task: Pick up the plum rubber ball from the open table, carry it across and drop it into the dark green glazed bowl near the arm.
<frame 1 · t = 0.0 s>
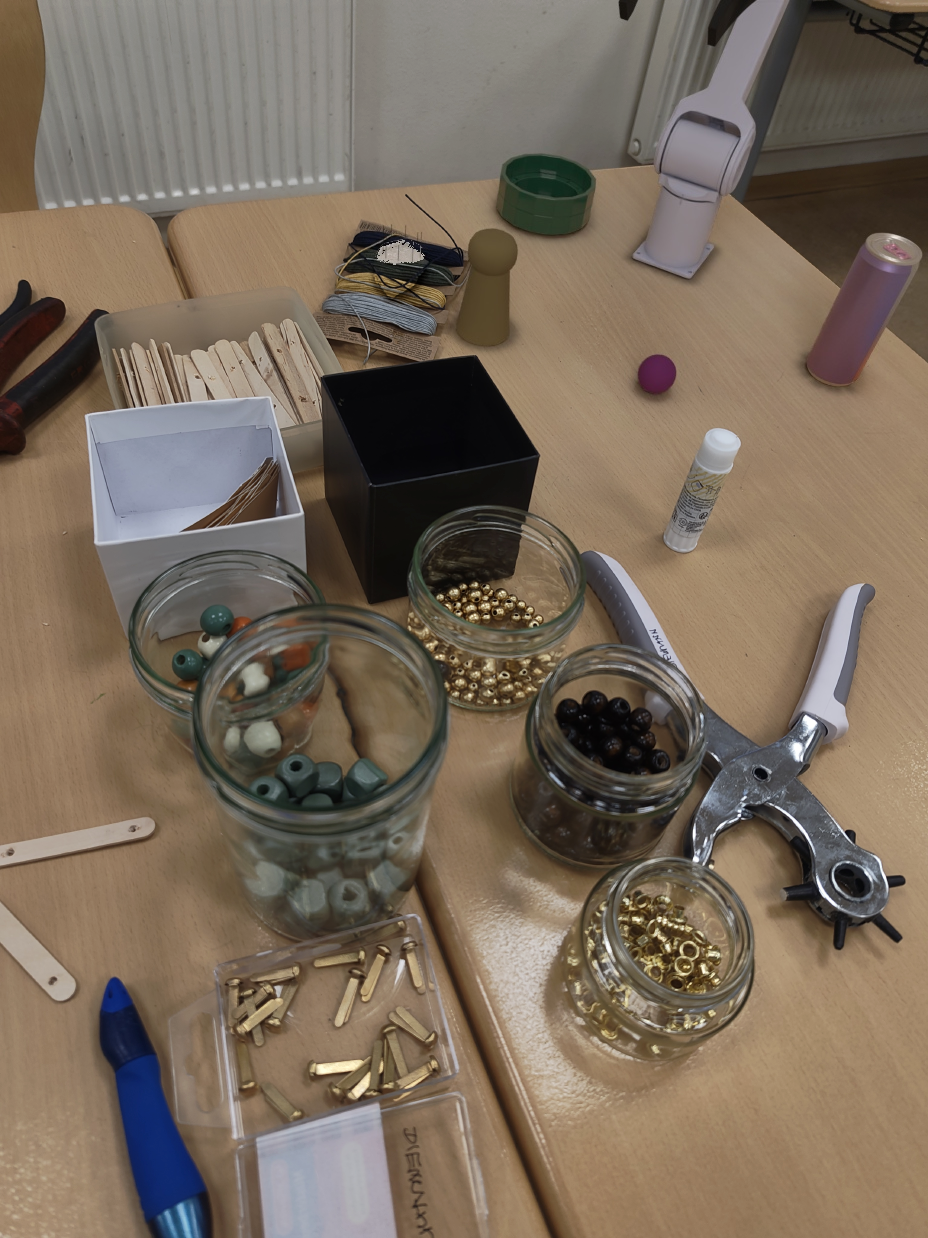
hand: (666, 23, 69), 32 cm above the table, tool tilted 50°, fingers open, 7 cm apart
beverage can: (829, 373, 98), on the table
ball: (651, 389, 93), on the table
olive brown pawn: (482, 331, 97), on the table
pincushion: (399, 276, 102), on the table
bowl: (542, 213, 114), on the table
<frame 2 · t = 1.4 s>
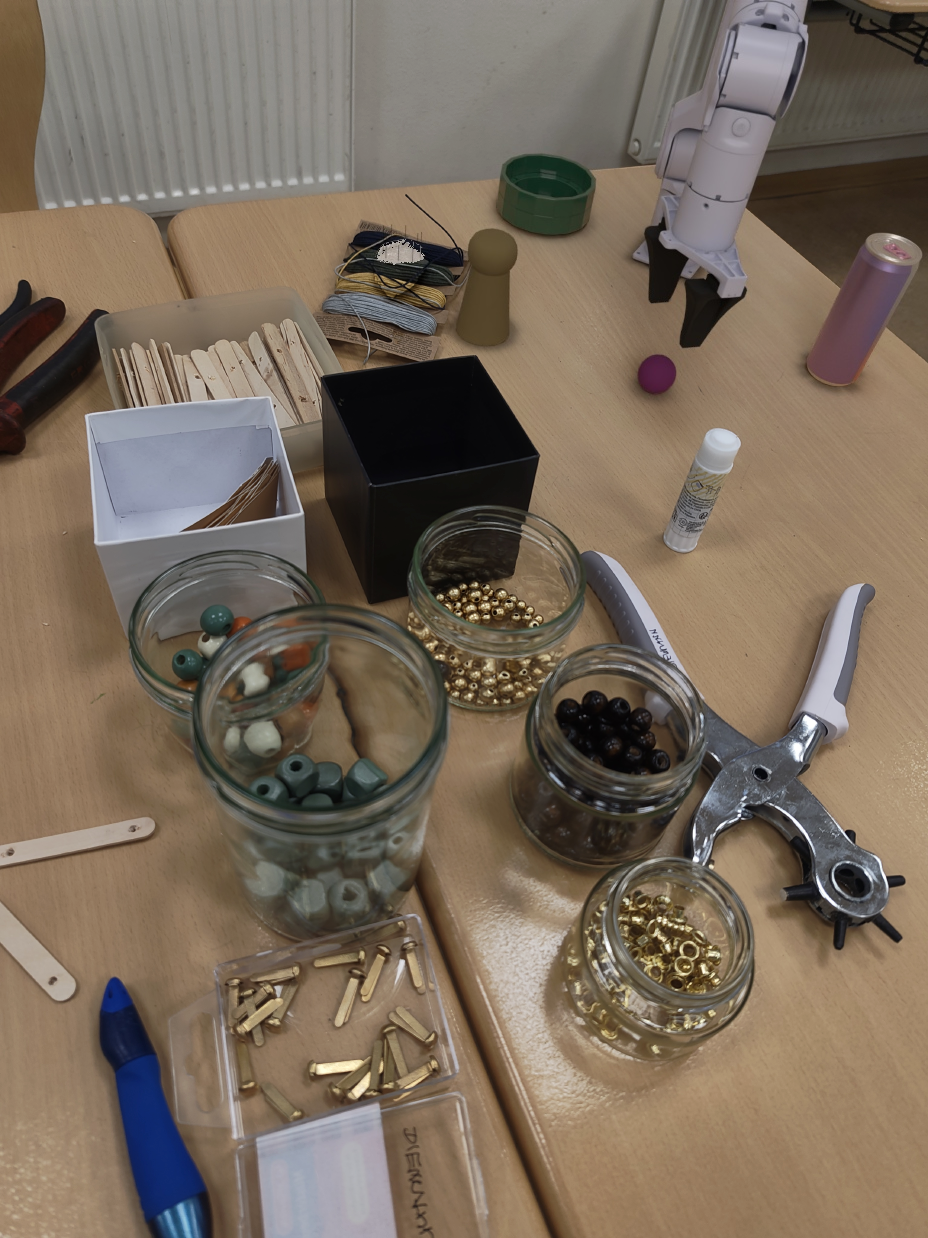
hand: (673, 322, 86), 8 cm above the table, tool pointing down, fingers open, 7 cm apart
nothing on the table moved.
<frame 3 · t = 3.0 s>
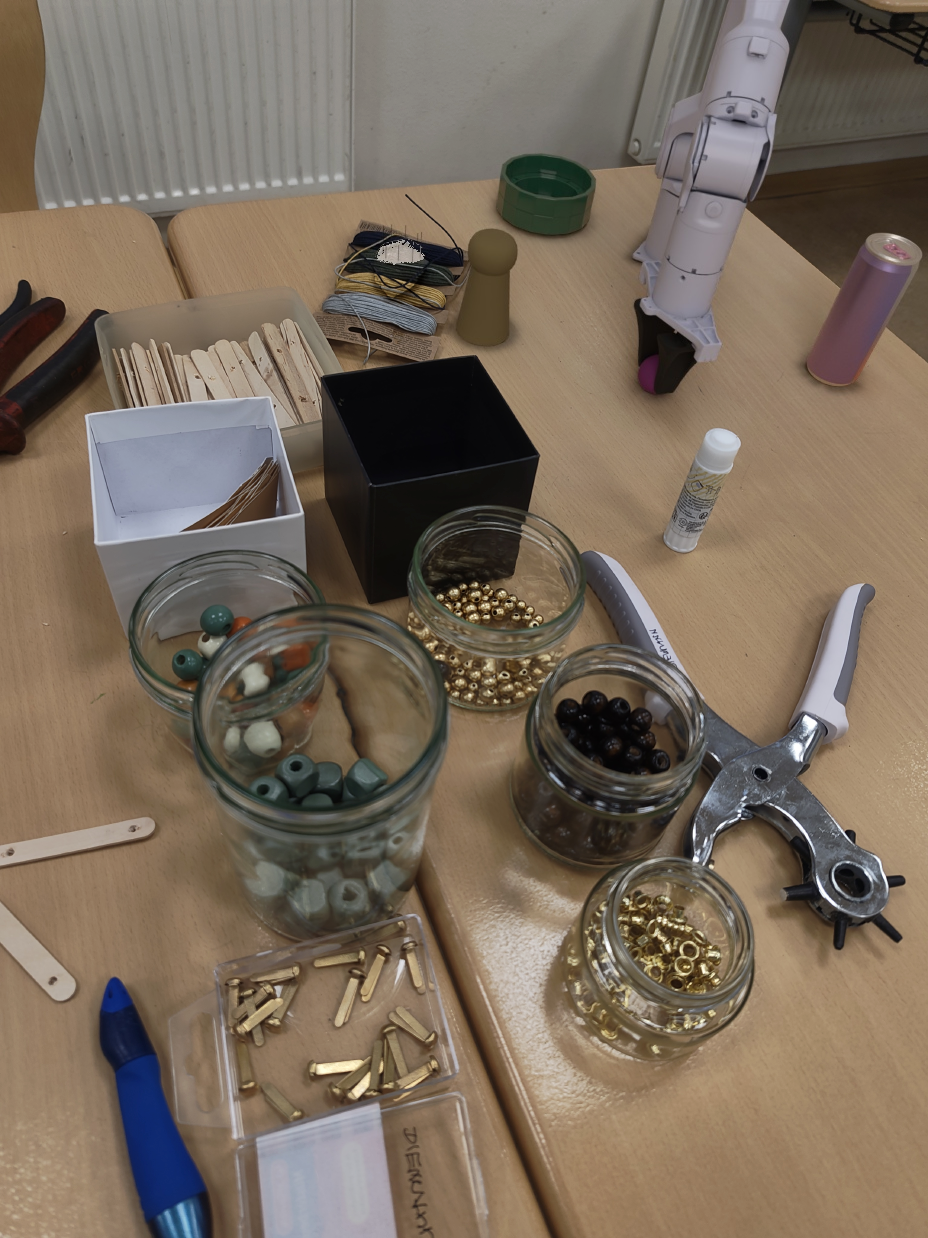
hand: (655, 378, 92), 1 cm above the table, tool pointing down, fingers closed on ball, 4 cm apart
ball: (652, 389, 93), on the table, touching gripper
everything else where it was.
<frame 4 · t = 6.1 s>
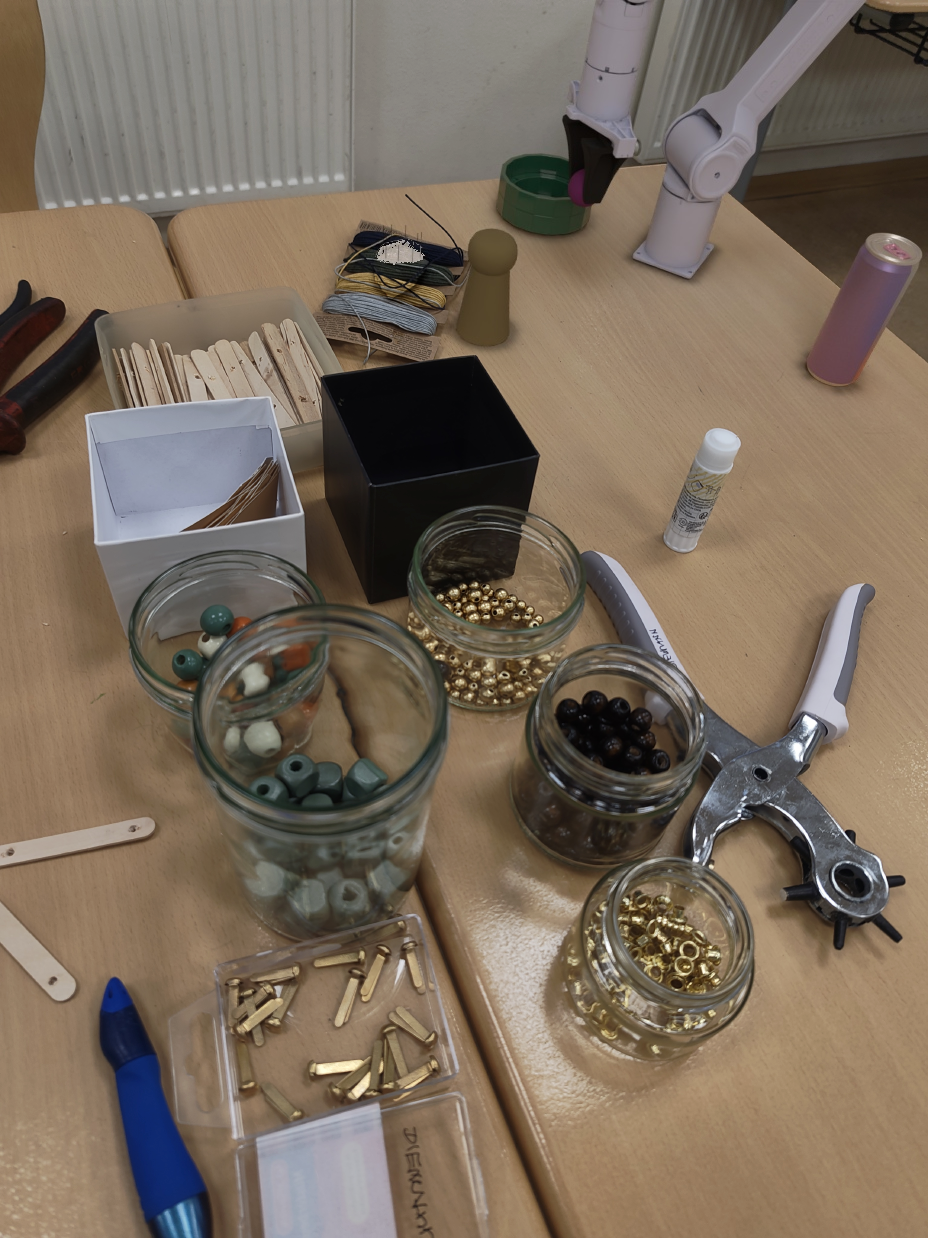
hand: (584, 192, 101), 8 cm above the table, tool pointing down, fingers closed on ball, 4 cm apart
ball: (581, 204, 102), point 7 cm above the table, touching gripper
everything else where it was.
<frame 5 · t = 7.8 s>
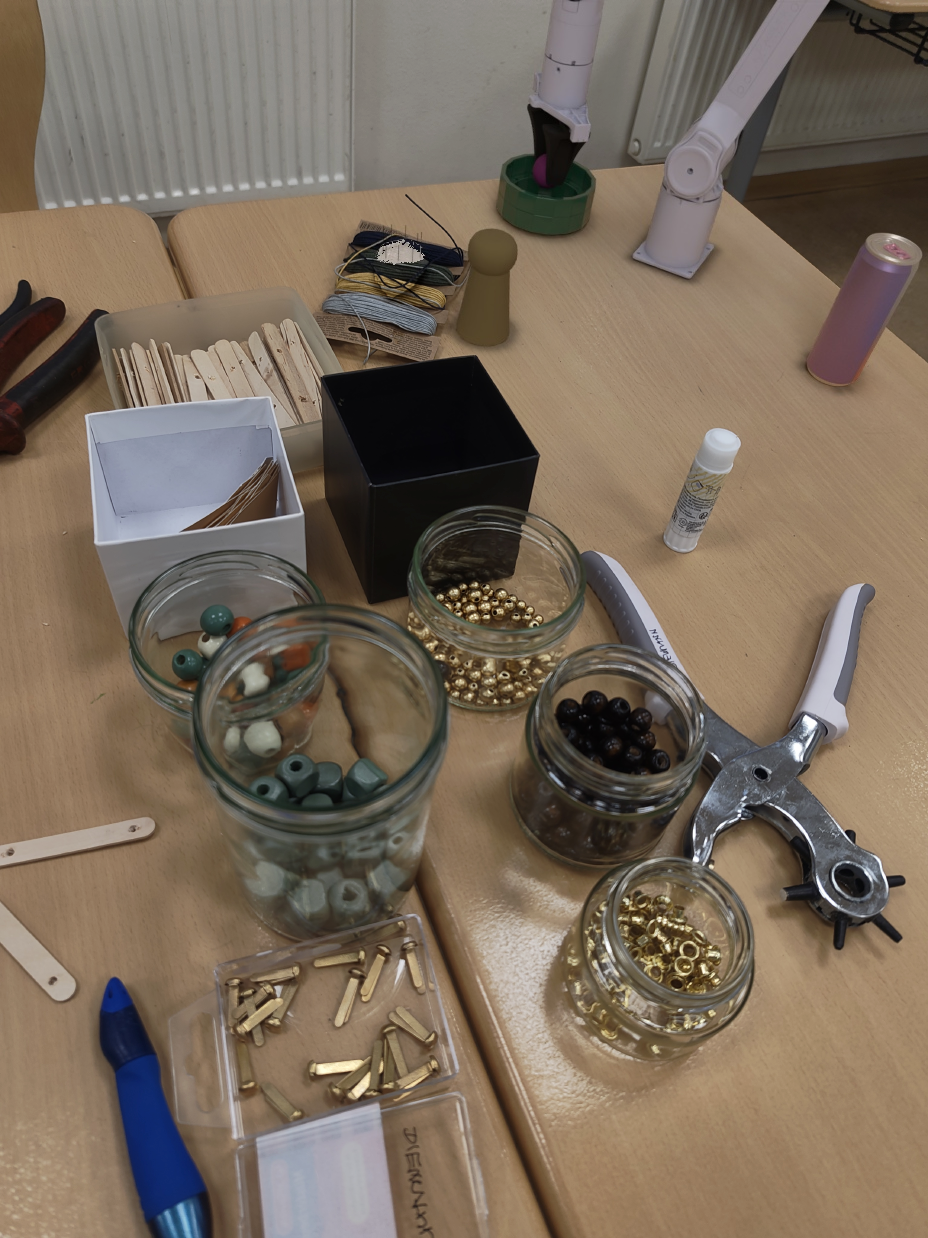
hand: (548, 175, 110), 5 cm above the table, tool pointing down, fingers closed on ball, 4 cm apart
ball: (545, 186, 111), point 4 cm above the table, touching gripper
everything else where it was.
when the fingers open (2 cm above the table, at t = 9.2 s): ball stays where it is, resting on bowl.
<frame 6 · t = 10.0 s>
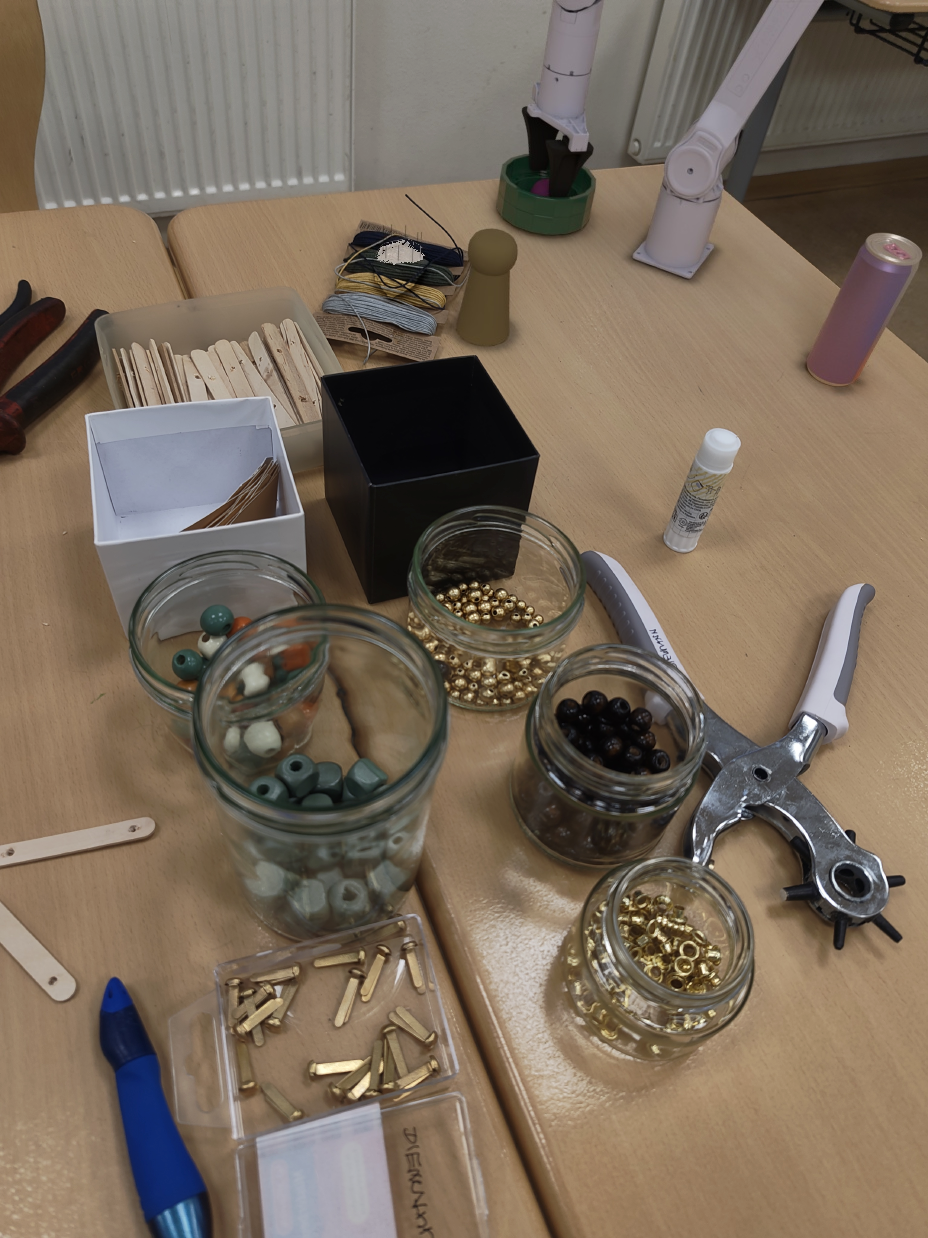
hand: (547, 183, 111), 4 cm above the table, tool pointing down, fingers open, 7 cm apart
ball: (541, 210, 114), point 1 cm above the table, tilted 5°, touching bowl
everything else where it was.
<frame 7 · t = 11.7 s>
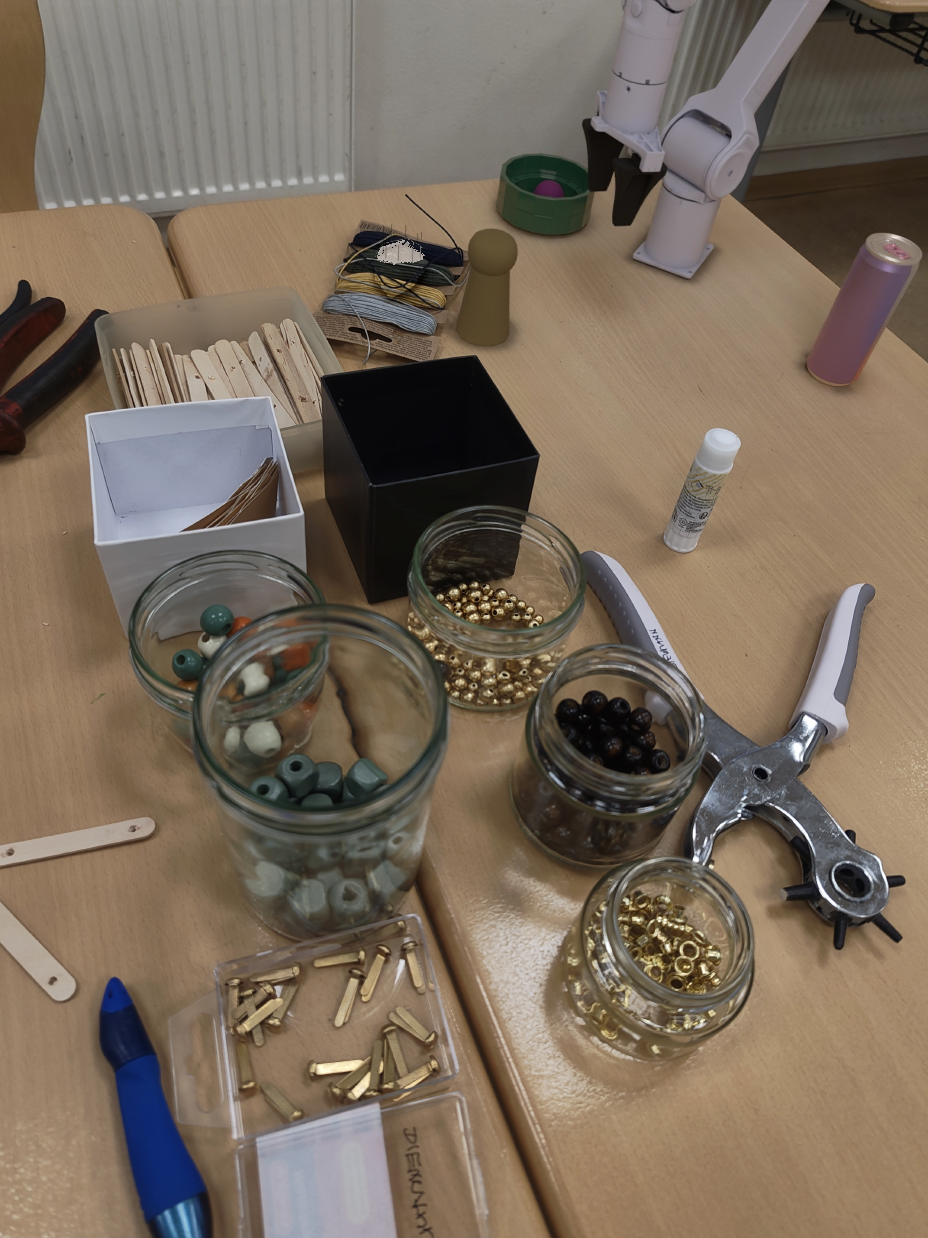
hand: (609, 206, 97), 9 cm above the table, tool pointing down, fingers open, 7 cm apart
ball: (541, 209, 114), point 1 cm above the table, tilted 19°, touching bowl
everything else where it was.
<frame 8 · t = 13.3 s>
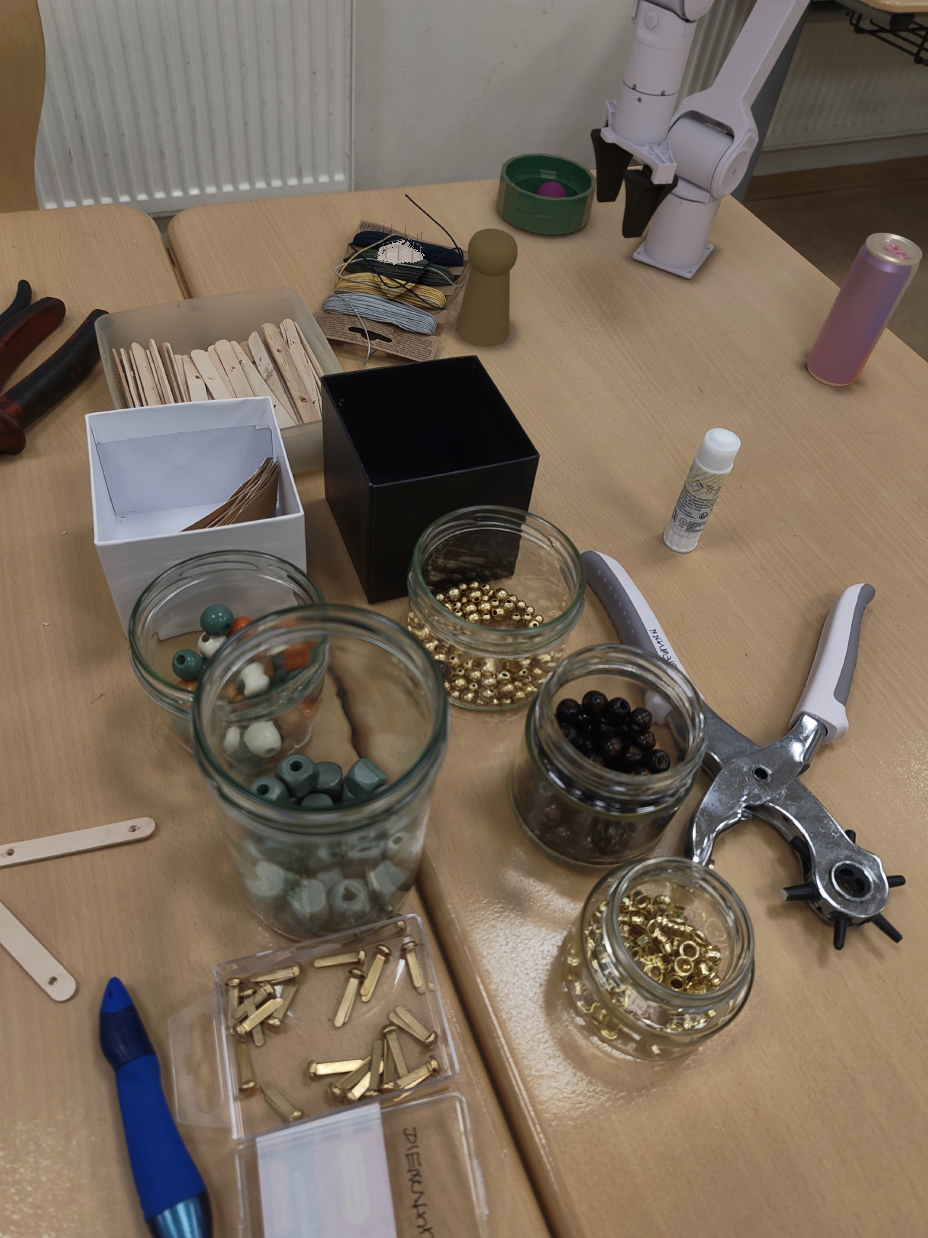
hand: (618, 217, 96), 9 cm above the table, tool pointing down, fingers open, 7 cm apart
ball: (542, 208, 113), point 1 cm above the table, tilted 32°, touching bowl
everything else where it was.
at the end: ball inside the target area in the bowl (0.2 cm from its centre), point 0.8 cm above the bowl's base; the gripper is holding nothing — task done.
